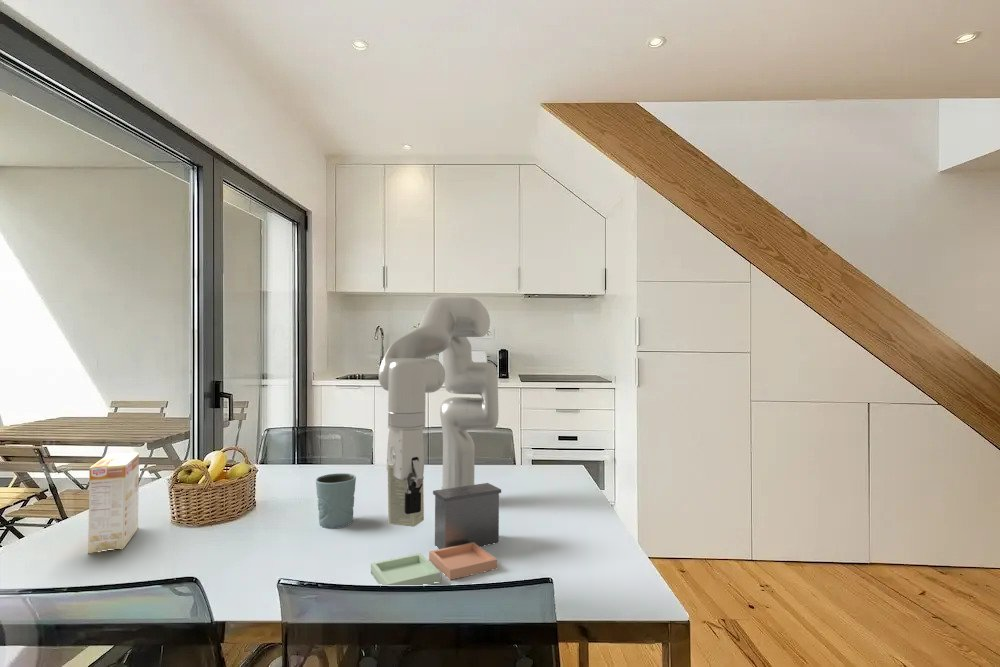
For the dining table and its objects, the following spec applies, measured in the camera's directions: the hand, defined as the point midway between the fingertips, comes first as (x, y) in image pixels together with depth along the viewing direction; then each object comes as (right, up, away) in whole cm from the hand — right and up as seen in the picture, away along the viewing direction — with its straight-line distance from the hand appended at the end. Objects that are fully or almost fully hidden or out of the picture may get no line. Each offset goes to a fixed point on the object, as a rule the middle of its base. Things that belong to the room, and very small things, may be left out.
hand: (405, 506), depth 107 cm
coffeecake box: (-73, -15, +19) cm, 77 cm away
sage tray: (0, -14, 0) cm, 14 cm away
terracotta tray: (+11, -15, +6) cm, 19 cm away
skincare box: (0, -3, 0) cm, 3 cm away
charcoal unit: (+11, -15, +18) cm, 26 cm away
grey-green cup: (-24, -15, +32) cm, 43 cm away
